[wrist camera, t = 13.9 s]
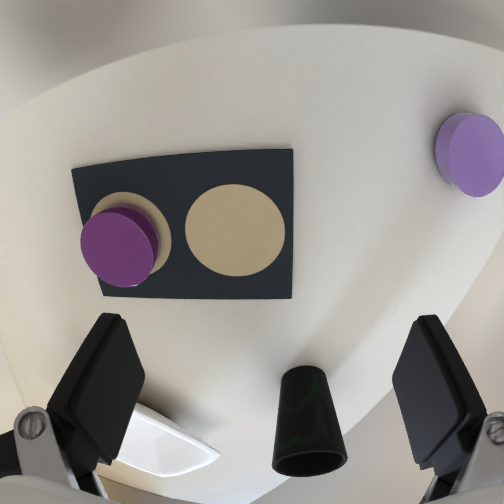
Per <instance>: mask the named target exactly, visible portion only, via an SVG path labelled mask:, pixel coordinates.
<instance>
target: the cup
mask: <svg viewBox="0 0 504 504" xmlns="http://www.w3.org/2000/svg"><path fill="white" fill-rule="evenodd" d="M347 458H348V457H347V453H346V449H345V446H344V442H343V438H342V434H341V430H340V426H339V423H338V419H337V415H336V411H335V408H334V404H333V400H332V397H331V393H330V390H329V386H328V383H327V379H326V376H325V373H324V372H323V371H322V370H321V369H319V368H317V367H314V366H300V367H296V368H293V369H291V370H289V371H287V372H286V373H285V374H284V375H283V377H282V380H281V388H280V398H279V408H278V417H277V426H276V435H275V443H274V452H273V460H272V468H273V469H274V470H275V471H276V472H277V473H280V474H282V475H286V476H292V477H311V476H317V475H322V474H326V473H329V472H332V471H334V470H336V469H338V468H340V467H342V466H343V465H344V464H345V463H346V461H347Z"/></svg>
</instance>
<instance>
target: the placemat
mask: <svg viewBox="0 0 504 504" xmlns="http://www.w3.org/2000/svg"><path fill="white" fill-rule="evenodd" d="M71 172H72V177H73V182H74V188H75V193H76V197H77V202H78V207H79V211H80V215H81V220H82V224H83V227H84V225H85V224H86V222H87V221H88V220H89V219H90V218H91V217H93V216H94V215H95V214H96V213H98V212H99V211H100V210H102V209H103V208H104V207H106V206H108V205H111V204H114V203H126V204H130V205H133V206H136V207H137V208H139V209H141V210H142V211H144V212H145V213H146V214H147V215H148V216H149V217H150V218H151V219H152V220H153V222H154V223H155V225H156V227H157V229H158V231H159V234H160V238H161V254H160V257H159V259H158V261H157V263H156V264H155V266H154V268H153V269H152V271H151V273H150V274H149V276H148V277H147V278H146V279H145V280H144V281H143V282H142V283H140V284H138V285H135V286H132V287H118V286H114V285H111V284H109V283H107V282H105V281H103V280H102V279H100V278H99V277H98V276H97V278H98V281H99V284H100V287H101V290H102V293H103V296H112V297H135V298H168V299H291V298H292V265H293V149H258V150H233V151H215V152H201V153H188V154H177V155H167V156H158V157H149V158H140V159H133V160H125V161H118V162H111V163H105V164H98V165H92V166H86V167H81V168H75V169H72V170H71Z"/></svg>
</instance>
